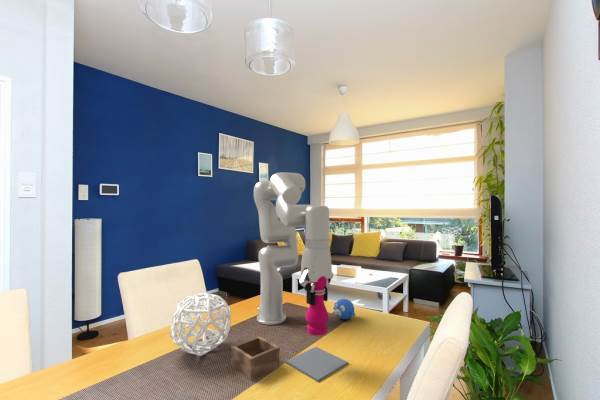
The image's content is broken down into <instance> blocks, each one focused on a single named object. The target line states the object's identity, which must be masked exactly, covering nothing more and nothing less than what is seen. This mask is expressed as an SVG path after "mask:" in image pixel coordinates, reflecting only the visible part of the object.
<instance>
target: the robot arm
mask: <svg viewBox="0 0 600 400" xmlns="http://www.w3.org/2000/svg"><path fill="white" fill-rule="evenodd" d="M305 189H306V180H305V177H304V176H303V175H302V174H301V173H298V172H286V171H285V172H276V173H273V174H272V175H271V177H270V178H269V180H262V181H258V182H257V183H255V185H254V186H253V200H254V203H255V206H256V209H257V212H258V221H259V222H258V223H259V233H260V239H261V241H262V242H263V243H266V244H276V243H278V244H279V243H283V244H284V245H282V244H281V245H269V246H264V247H262V248H261V249H259V251H258V262H259V270H260V305H259V306H257V308H256V310H257V311H258V312H259V313H258V315H257V316H256V321H257V322H258V324H263V325H269V326H271V325H278V324H282V323H284V322H285V321H286V319H287V315H286V314H285V313H284V312H283V311H284V309H283V305H284V304H283V303H284V302H283V301H284V299H283V298H284V297H283V295H284V294H283V285H284V284H283V276H282V274H281V273H280V272H279V271H278V269H281V268H290V267H294V266H296V265H297V264H298V262H299V249H298V248H299V247H298V240H297V239H298V238H297V231H296V228H305V233H304V234H305V238H304V239H305V247H304V249H303V251H302V254H301V255H302V256H301V264H300V265H301V266H300V279H299V282H298V283H299V285H300V286H301V287H302V288H303V289H304V291H306V298H305V299H306V304H308V305H309V306H310V305H315V292H314V287H315V285H314V284H315V282H317V281H318V279H319V278H320V277H322V276H325V277H326V279H327V284H326V286H325V287H324V288H325V294H324V297H323V298H324V302H327V301H328V300H329V299H328V297H329V295H328V289H329V287H330V283H331V281H332V279H333V277H334V273H333V271H332V268H333V267H332V264H333V263H332V256H331V249H330V209H329V207H328V206H326V205H316V204H298V202H299V201H300V200H301V198H302V193H303V192H304V191H305ZM272 201H275V204H273V203H272ZM309 283H311V287H310V286H309Z"/></svg>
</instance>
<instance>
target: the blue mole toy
mask: <svg viewBox="0 0 600 400" xmlns="http://www.w3.org/2000/svg"><path fill="white" fill-rule="evenodd" d="M333 305H334V306H333V309H332V310H334V311H332V312H331V313H332V315H335V316H336V317H337V318H339V319H341V320H349V319H352V317H355V316H356V313H355V306H354V303H353V302H352V300H349V299H348V298H340V299H339V300H337V301H336V302H335V303H333Z"/></svg>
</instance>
